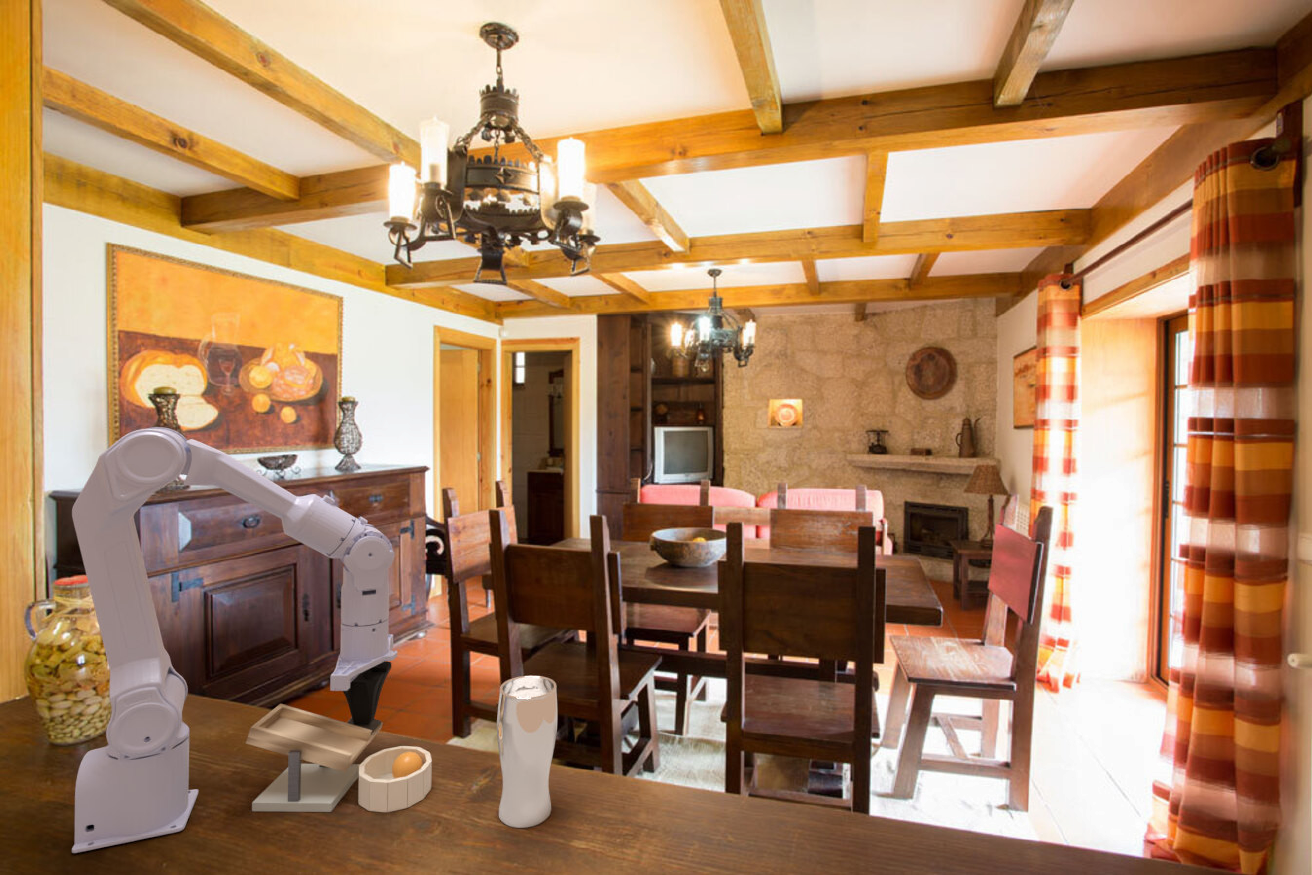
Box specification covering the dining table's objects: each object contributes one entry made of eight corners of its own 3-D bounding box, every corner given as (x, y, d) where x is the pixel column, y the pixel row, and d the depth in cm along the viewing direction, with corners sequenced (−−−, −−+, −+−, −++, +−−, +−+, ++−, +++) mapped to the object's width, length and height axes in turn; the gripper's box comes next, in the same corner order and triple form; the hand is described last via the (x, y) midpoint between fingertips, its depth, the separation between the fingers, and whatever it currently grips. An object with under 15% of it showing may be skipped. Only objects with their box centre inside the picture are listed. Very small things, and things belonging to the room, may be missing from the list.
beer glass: (548, 832, 71) (552, 700, 70) (487, 829, 71) (490, 697, 71) (559, 795, 78) (562, 675, 77) (503, 793, 78) (506, 673, 78)
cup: (358, 818, 72) (359, 788, 72) (357, 781, 80) (358, 753, 79) (434, 801, 76) (434, 773, 76) (426, 767, 83) (427, 741, 83)
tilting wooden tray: (245, 743, 74) (250, 727, 74) (294, 703, 84) (298, 689, 84) (345, 771, 74) (350, 755, 74) (381, 728, 85) (385, 714, 85)
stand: (251, 811, 73) (253, 753, 73) (291, 771, 81) (292, 719, 81) (330, 811, 73) (332, 754, 73) (362, 771, 82) (363, 720, 82)
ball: (401, 750, 77) (408, 781, 76) (424, 744, 80) (432, 773, 79) (382, 762, 78) (389, 792, 77) (406, 755, 81) (413, 784, 80)
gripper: (373, 639, 75) (371, 751, 76) (415, 604, 90) (413, 698, 90) (313, 638, 75) (311, 750, 75) (365, 603, 90) (363, 697, 90)
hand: (363, 722), depth 83 cm, fingers closed, pressing on tilting wooden tray
